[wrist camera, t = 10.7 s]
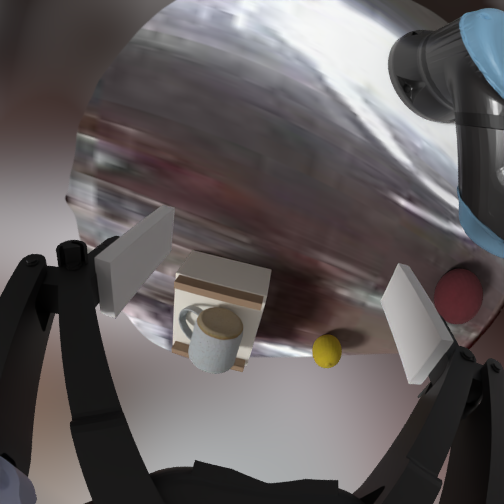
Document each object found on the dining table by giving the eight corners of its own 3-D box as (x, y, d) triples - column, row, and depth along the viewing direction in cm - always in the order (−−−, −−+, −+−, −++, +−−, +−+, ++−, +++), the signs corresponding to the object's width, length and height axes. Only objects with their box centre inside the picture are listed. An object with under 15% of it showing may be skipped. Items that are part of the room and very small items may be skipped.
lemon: (320, 350, 56) (322, 379, 48) (306, 334, 54) (307, 363, 47) (344, 338, 54) (348, 368, 46) (331, 321, 52) (334, 351, 45)
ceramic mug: (249, 311, 43) (240, 345, 36) (238, 347, 47) (229, 380, 40) (184, 291, 44) (165, 321, 37) (179, 328, 47) (163, 359, 40)
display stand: (271, 269, 49) (266, 303, 40) (252, 336, 56) (245, 373, 47) (192, 250, 49) (171, 279, 40) (186, 318, 57) (169, 352, 48)
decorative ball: (417, 284, 46) (437, 317, 37) (455, 248, 42) (481, 275, 33) (440, 311, 48) (458, 343, 39) (474, 279, 44) (497, 308, 35)
